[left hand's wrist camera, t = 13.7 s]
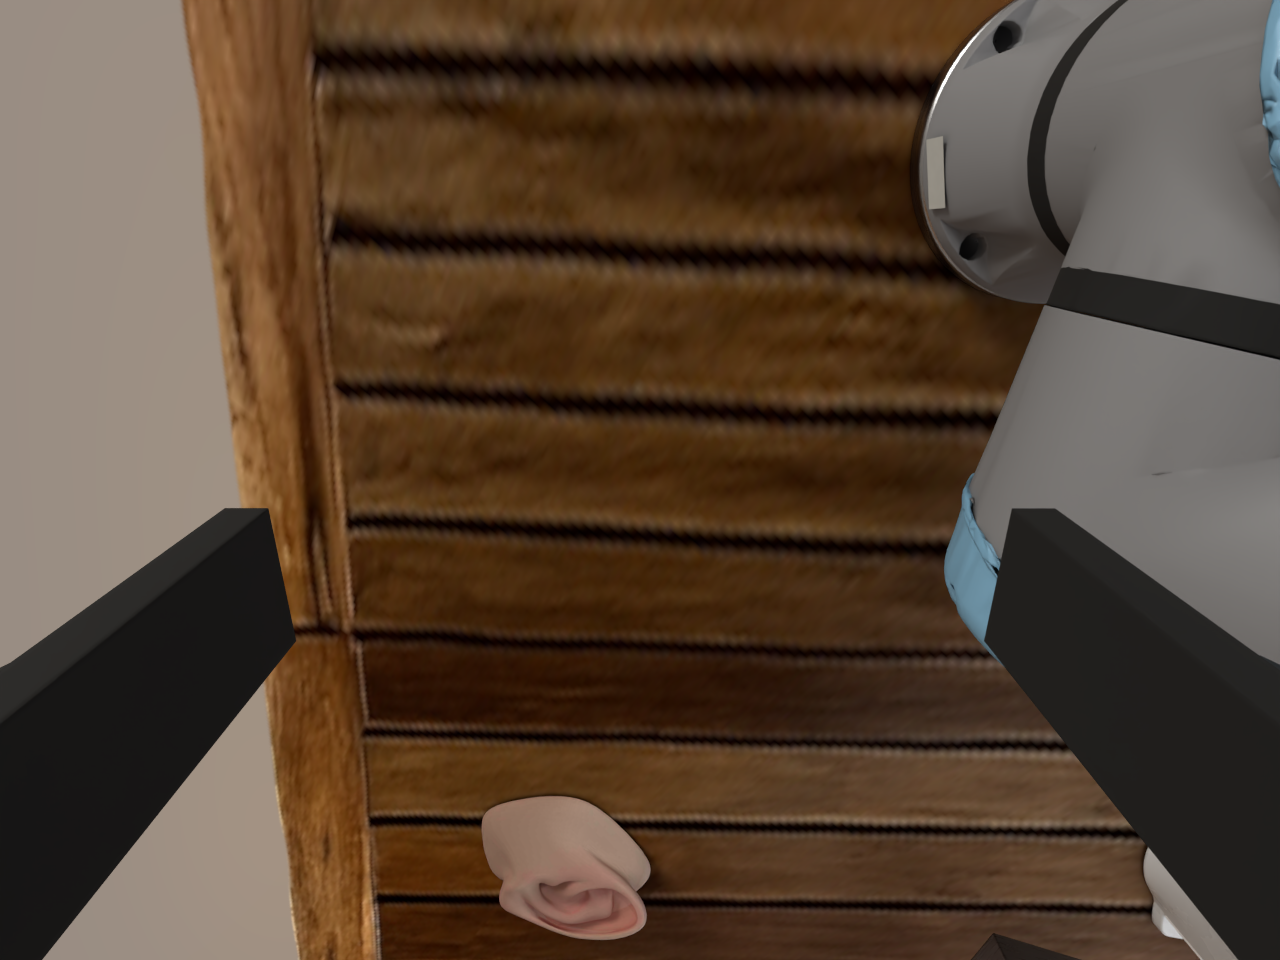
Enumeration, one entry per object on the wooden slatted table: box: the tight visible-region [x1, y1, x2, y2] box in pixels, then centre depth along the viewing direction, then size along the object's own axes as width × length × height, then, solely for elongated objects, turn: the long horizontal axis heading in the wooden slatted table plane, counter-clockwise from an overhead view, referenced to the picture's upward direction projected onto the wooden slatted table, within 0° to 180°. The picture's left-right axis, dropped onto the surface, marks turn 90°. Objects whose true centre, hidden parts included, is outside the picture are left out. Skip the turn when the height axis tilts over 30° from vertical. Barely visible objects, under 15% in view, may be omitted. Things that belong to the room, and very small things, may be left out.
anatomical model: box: [482, 796, 651, 940], centre depth 53 cm, size 13×4×12 cm
